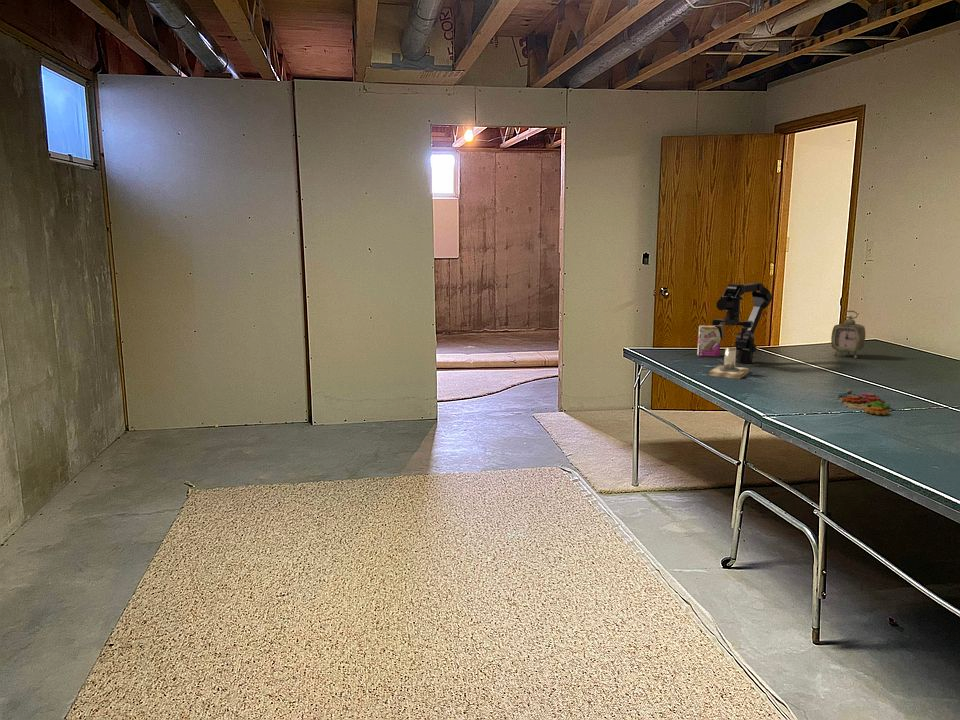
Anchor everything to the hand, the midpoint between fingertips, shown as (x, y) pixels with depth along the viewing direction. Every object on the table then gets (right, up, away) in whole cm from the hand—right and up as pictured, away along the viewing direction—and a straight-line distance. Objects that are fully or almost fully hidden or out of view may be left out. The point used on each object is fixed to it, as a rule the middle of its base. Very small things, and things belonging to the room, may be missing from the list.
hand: (731, 340), depth 349 cm
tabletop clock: (+72, -8, +26) cm, 77 cm away
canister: (-8, -14, -18) cm, 24 cm away
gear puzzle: (+24, -29, -77) cm, 86 cm away
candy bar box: (-2, -8, +29) cm, 30 cm away
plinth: (-8, -17, -18) cm, 25 cm away
